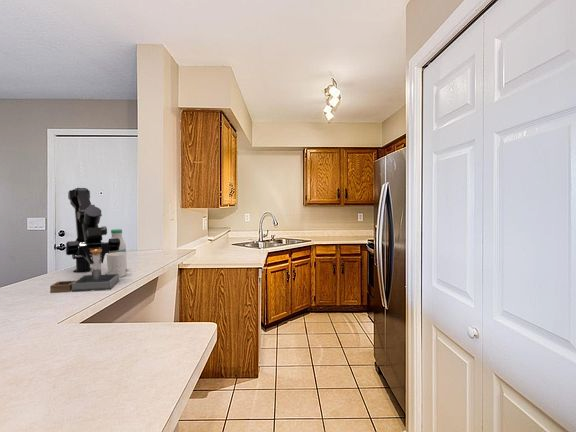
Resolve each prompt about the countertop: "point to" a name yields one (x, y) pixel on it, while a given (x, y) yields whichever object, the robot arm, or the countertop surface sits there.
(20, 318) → the countertop surface
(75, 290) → the tray
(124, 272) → the white cup
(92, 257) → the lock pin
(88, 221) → the robot arm
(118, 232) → the milk bottle
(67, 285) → the socket block
